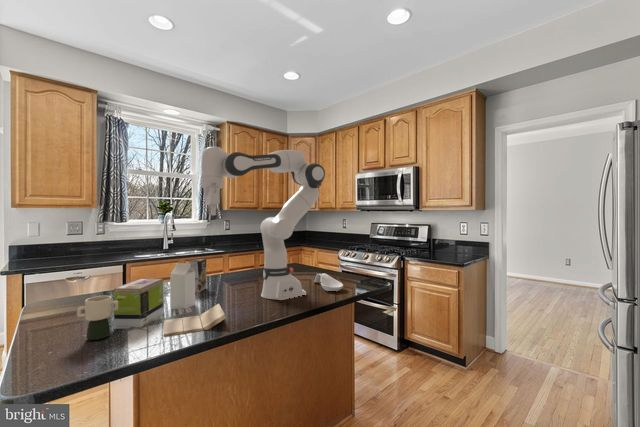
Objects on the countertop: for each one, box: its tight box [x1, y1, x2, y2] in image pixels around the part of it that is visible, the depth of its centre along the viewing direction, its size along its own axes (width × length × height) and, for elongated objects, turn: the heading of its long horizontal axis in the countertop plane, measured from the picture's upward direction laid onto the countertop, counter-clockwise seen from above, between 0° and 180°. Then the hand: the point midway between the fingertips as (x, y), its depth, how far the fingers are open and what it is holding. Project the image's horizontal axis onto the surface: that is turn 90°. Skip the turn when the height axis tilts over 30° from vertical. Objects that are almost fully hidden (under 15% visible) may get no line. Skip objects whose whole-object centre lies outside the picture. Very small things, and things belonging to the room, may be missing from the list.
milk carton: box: [169, 262, 196, 310], centre depth 130 cm, size 7×7×19 cm
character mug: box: [76, 295, 118, 341], centre depth 98 cm, size 11×7×13 cm, turn 135°
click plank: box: [199, 303, 227, 331], centre depth 111 cm, size 8×14×2 cm, turn 27°
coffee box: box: [187, 258, 207, 294], centre depth 158 cm, size 9×6×16 cm
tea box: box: [113, 278, 165, 330], centre depth 113 cm, size 15×10×15 cm, turn 178°
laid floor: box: [163, 314, 203, 337], centre depth 107 cm, size 12×14×2 cm
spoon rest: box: [313, 273, 344, 292], centre depth 165 cm, size 24×12×7 cm, turn 28°
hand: (212, 215), depth 132 cm, fingers open, 8 cm apart
